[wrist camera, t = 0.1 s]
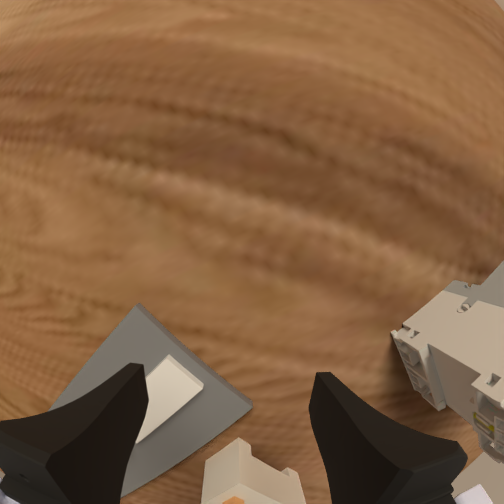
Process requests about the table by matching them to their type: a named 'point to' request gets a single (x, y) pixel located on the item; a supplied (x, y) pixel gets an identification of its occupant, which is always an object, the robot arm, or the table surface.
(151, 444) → the din board
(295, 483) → the block
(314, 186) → the table surface
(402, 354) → the circuit breaker
